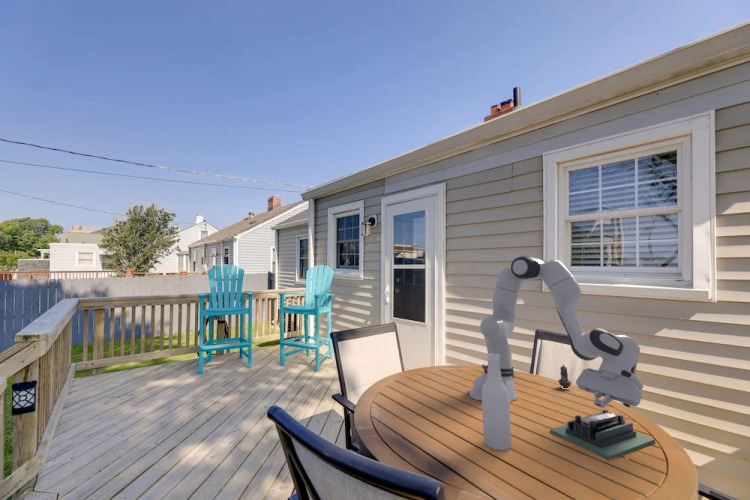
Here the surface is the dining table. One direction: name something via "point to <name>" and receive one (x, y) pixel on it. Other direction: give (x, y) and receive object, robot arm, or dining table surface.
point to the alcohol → (496, 408)
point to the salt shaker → (564, 378)
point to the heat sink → (601, 430)
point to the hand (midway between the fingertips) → (598, 405)
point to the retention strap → (599, 418)
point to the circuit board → (607, 451)
